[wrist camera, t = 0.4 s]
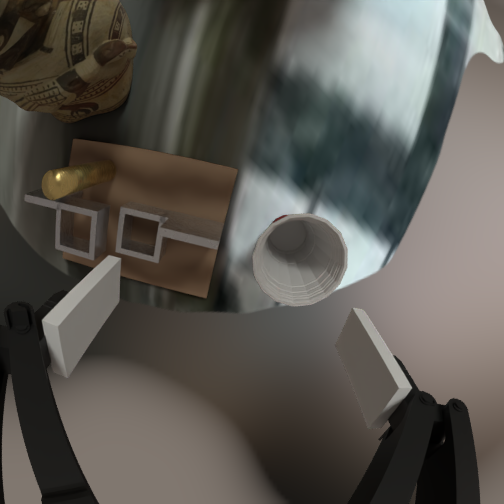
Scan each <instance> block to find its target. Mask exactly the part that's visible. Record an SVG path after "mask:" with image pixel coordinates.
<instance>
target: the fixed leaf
mask: <svg viewBox="0 0 504 504" xmlns="http://www.w3.org/2000/svg"><path fill="white" fill-rule="evenodd" d="M133 216H137V217H141V218H145V219H150V220H154V221H158V222H159V226H158V232H157V238H156V245H155V246H154V245H150V244H146V243H142V242H138V241H134V240H130V238H131V230H132V223H133ZM223 226H224V223H221V222H217V221H213V220H208V219H204V218H200V217H196V216H192V215H188V214H183V213H179V212H175V211H171V210H167V209H162V208H158V207H154V206H149V205H145V204H141V203H136V202H132V201H130V202H128V203H126V204H125V205H123V206H121V207H120V215H119V223H118V231H117V241H116V251H115V252H118V253H121V254H125V255H129V256H132V257H136V258H140V259H144V260H148V261H151V262H155V263H159V262H160V260H161V259H162V257H163V256H164V255H165V252H166V246H167V240H168V238H171V239H175V240H179V241H183V242H187V243H192V244H196V245H200V246H204V247H208V248H212V249H216V250H217V249H218V245H219V241H220V238H221V234H222V230H223Z"/></svg>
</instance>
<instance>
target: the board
mask: <svg viewBox="0 0 504 504" xmlns="http://www.w3.org/2000/svg"><path fill="white" fill-rule="evenodd" d="M104 160H110V161H112V162H113V163H114V164H115V166H116V175H115V177H114V178H113V179H112V180H111V181H108V182H105V183H102V184H99V185H96V186H93V187H90V188H87V189H84V190H81V191H83V192H82V198H81V199H85V200H90V201H94V202H99V203H103V204H107V205H110V212H109V221H108V231H107V242H106V251H105V252H104V253H102V254H101V255H100V256H99V257H98V258H96V259H95V260H90V259H87V258H84V257H80V256H77V255H74V254H70V253H67V252H64V251H63V258H64V259H67V260H70V261H73V262H76V263H80V264H83V265H86V266H89V267H93V268H95V267H96V266H98V265H99V264H100V263H101V262H102V261H103V260H104V259H105V258H106V257H107V256H109V255H110V256H114V257H118V258H121V270H120V276H123V277H127V278H130V279H134V280H138V281H141V282H145V283H149V284H152V285H156V286H160V287H164V288H167V289H171V290H175V291H179V292H183V293H187V294H191V295H195V296H199V297H203V298H207V293H208V289H209V285H210V280H211V276H212V272H213V267H214V263H215V259H216V255H217V251H218V249H217V250H216V249H212V248H208V247H204V246H200V245H196V244H192V243H187V242H183V241H179V240H175V239H171V238H168V240H167V246H166V252H165V255H164V256H163V257H162V259H161V260H160V262H159V263H155V262H151V261H148V260H144V259H140V258H136V257H132V256H129V255H125V254H121V253H118V252H115V251H116V241H117V231H118V223H119V215H120V207H121V206H123V205H125V204H126V203H128V202H130V201H132V202H136V203H141V204H145V205H149V206H154V207H158V208H162V209H167V210H171V211H175V212H179V213H183V214H188V215H192V216H196V217H200V218H204V219H208V220H213V221H217V222H221V223H224V222H225V218H226V214H227V210H228V206H229V202H230V198H231V194H232V191H233V187H234V183H235V179H236V175H237V172H238V169H235V168H231V167H227V166H222V165H218V164H214V163H210V162H205V161H201V160H196V159H192V158H187V157H182V156H178V155H173V154H168V153H163V152H158V151H152V150H147V149H141V148H136V147H130V146H124V145H118V144H112V143H105V142H98V141H91V140H84V139H73V144H72V149H71V156H70V162H69V166H75V165H80V164H86V163H92V162H98V161H104ZM91 219H92V217H91V216H87V215H83V214H79V213H75V214H74V230H73V236H74V237H78V238H82V239H85V240H89V241H90V231H91ZM158 226H159V222H158V221H154V220H150V219H145V218H141V217H137V216H133V223H132V230H131V238H130V240H134V241H138V242H142V243H146V244H150V245H154V246H155V245H156V238H157V232H158ZM219 242H220V241H219ZM218 246H219V245H218Z"/></svg>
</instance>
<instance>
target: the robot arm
mask: <svg viewBox="0 0 504 504" xmlns="http://www.w3.org/2000/svg"><path fill="white" fill-rule="evenodd" d="M120 270H121V258H118V257H114V256H110V255H109V256H107V257H106V258H105V259H104V260H103V261H102V262H101V263H100V264H99V265H98V266H96V267H95V268H94V269H93V270H92V271H91V272H90V273H89V274H88V275H87V276H86V277H85V278H84V279H83V280H81V281H80V282H79V283H78V284H77V285H76V286H75V287H74V288H73V289H72V290H71V291H70V292H67V291H64V290H63V291H60V292H58V293H56V294H54V295H53V296H52V297H51V298H50V299H49V300H48V301H46V302H45V303H44V305H42V306H41V308H39V309H38V310H37V311H36V312H35V313H34V310H33V307H32V306H31V305H30V304H29V303H26V302H14V303H11V304H10V305H8V306H7V307H6V308H5V310H4V316H5V320H6V324H7V326H2V325H0V504H5V501H4V492H3V480H2V426H3V412H4V401H5V394H6V386H7V379H8V374H11V375H12V383H13V390H14V395H15V402H16V406H17V412H18V417H19V421H20V426H21V430H22V434H23V438H24V442H25V446H26V449H27V453H28V456H29V459H30V462H31V465H32V468H33V471H34V474H35V477H36V480H37V483H38V485H39V488H40V490H41V494H42V499H41V501H42V504H99V503H98V501H97V499H96V497H95V496H94V494H93V492H92V490H91V488H90V486H89V484H88V482H87V480H86V478H85V476H84V474H83V472H82V470H81V468H80V465H79V463H78V461H77V459H76V457H75V454H74V452H73V449H72V447H71V444H70V442H69V439H68V437H67V434H66V431H65V429H64V426H63V423H62V420H61V417H60V414H59V411H58V408H57V405H56V402H55V398H54V395H53V392H52V388H51V385H50V381H49V377H48V373H47V367H48V366H49V364H50V363H51V366H52V370H53V372H54V373H56V374H59V375H61V376H63V377H65V378H68V377H69V376H70V374H71V372H72V371H73V369H74V368H75V366H76V365H77V363H78V361H79V360H80V358H81V356H82V355H83V354H84V352H85V351H86V349H87V348H88V346H89V345H90V343H91V342H92V340H93V339H94V337H95V336H96V334H97V333H98V331H99V330H100V328H101V327H102V325H103V324H104V322H105V321H106V320H107V318H108V317H109V315H110V314H111V312H112V311H113V310H114V308H115V307H116V305H117V304H118V303H119V292H120ZM335 346H336V348H337V351H338V353H339V356H340V358H341V361H342V363H343V366H344V368H345V371H346V373H347V376H348V378H349V380H350V383H351V386H352V388H353V390H354V393H355V396H356V398H357V401H358V403H359V406H360V409H361V411H362V414H363V416H364V419H365V421H366V424H367V427H368V429H373V428H382V426H383V425H384V424H385V423H386V422H387V420H388V421H389V423H390V427H389V428H388V429H387V430H386V431H385V432H384V434H383V435H382V436H381V437H380V438H379V440H381V439H382V438H383V439H382V441H381V443H380V445H379V447H378V449H377V451H376V453H375V455H374V457H373V459H372V461H371V463H370V465H369V467H368V469H367V470H366V472H365V474H364V476H363V478H362V480H361V481H360V483H359V485H358V486H357V488H356V490H355V491H354V493H353V495H352V497H351V498H350V500H349V501H348V503H347V504H409V502H410V499H411V497H412V494H413V491H414V489H415V486H416V483H417V491H416V500H415V504H480V491H479V478H478V468H477V460H476V452H475V446H474V440H473V434H472V429H471V423H470V418H469V413H468V409H467V407H466V405H465V404H464V403H463V402H462V401H461V400H458V399H454V398H453V399H450V400H449V402H448V403H447V404H446V405H441V404H437V402H436V400H435V399H434V398H433V397H432V395H430V394H428V393H426V392H424V391H419V389H418V388H417V386H416V384H415V383H414V381H413V379H412V378H411V376H410V375H409V373H408V371H407V370H406V368H405V366H404V365H403V363H402V362H401V361H400V360H399V359H398V358H397V357H396V356H394V355H392V354H391V352H390V350H389V349H388V347H387V345H386V344H385V342H384V341H383V339H382V337H381V336H380V334H379V333H378V331H377V330H376V328H375V327H374V325H373V323H372V322H371V320H370V319H369V317H368V316H367V314H366V313H365V311H364V310H363V309H357V308H352V310H351V312H350V314H349V316H348V319H347V321H346V323H345V325H344V327H343V330H342V332H341V334H340V336H339V338H338V340H337V342H336V344H335ZM444 439H445V442H444V443H443V440H444Z"/></svg>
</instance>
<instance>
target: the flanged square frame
mask: <svg viewBox="0 0 504 504" xmlns="http://www.w3.org/2000/svg"><path fill="white" fill-rule="evenodd" d="M82 192H83V191H78V192H75V193H72V194H69V195H67V196H64V197H61V198H59V199H56V200H50V199H48V198H47V197H46V196H45V195H44V193H43V190H42V189H39V190H36V191H33V192H30V193H27V194H25V201H26V202H30V203H34V204H38V205H41V206H45V207H49V208H53V209H57V210H56V234H55V249H58V250H61V251H64V252H67V253H70V254H74V255H77V256H80V257H84V258H87V259H90V260H95V259H96V258H98V257H99V256H100V255H101V254H102V253H104V252H105V251H106V242H107V231H108V221H109V212H110V205H107V204H103V203H99V202H94V201H90V200H85V199H81V198H82ZM75 213H79V214H83V215H87V216H91V217H92V219H91V231H90V241H89V240H85V239H82V238H78V237H74V236H73V230H74V214H75Z"/></svg>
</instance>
